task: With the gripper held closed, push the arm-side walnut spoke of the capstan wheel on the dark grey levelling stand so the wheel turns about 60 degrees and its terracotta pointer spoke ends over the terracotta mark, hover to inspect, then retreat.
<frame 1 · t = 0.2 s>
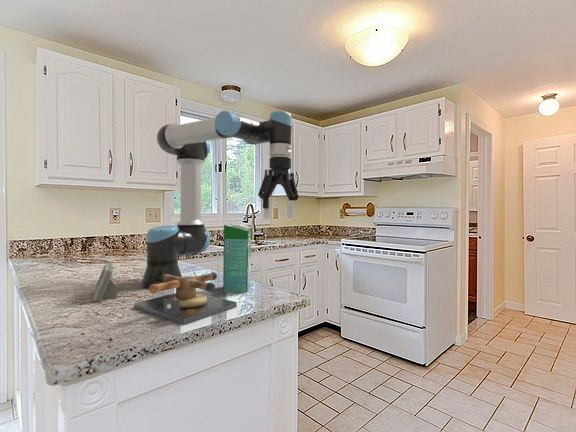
hand: (279, 218, 113), 28 cm above the countertop, fingers open, 13 cm apart
capstan: (186, 289, 101), point 6 cm above the countertop, hinge at 0.0°
milk carton: (237, 289, 125), on the countertop
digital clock: (103, 297, 112), on the countertop
stand: (185, 307, 101), on the countertop
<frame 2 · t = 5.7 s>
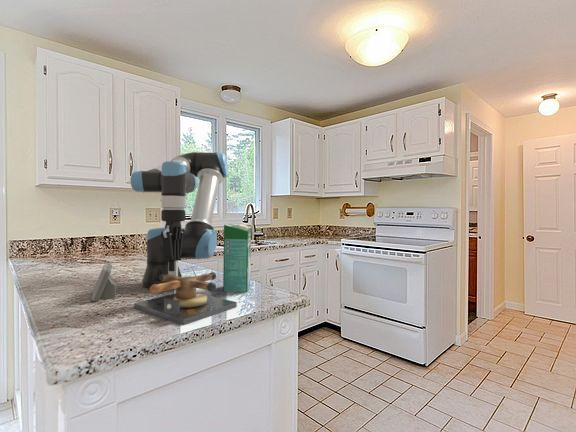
hand: (173, 280, 107), 7 cm above the countertop, fingers closed
capstan: (186, 289, 101), point 6 cm above the countertop, hinge at 2.2°, touching gripper
everything else where it was.
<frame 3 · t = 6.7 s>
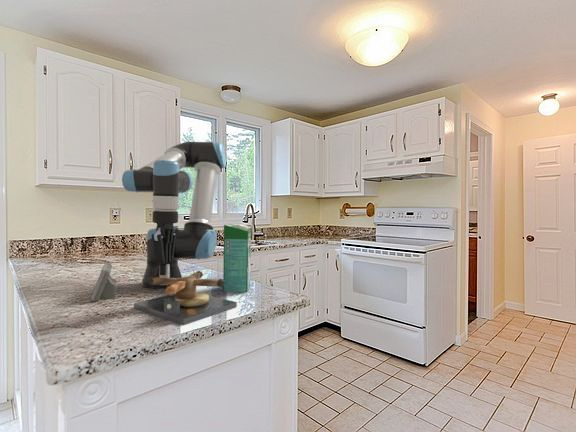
hand: (164, 284, 103), 7 cm above the countertop, fingers closed
capstan: (186, 289, 101), point 6 cm above the countertop, hinge at 30.4°, touching gripper
everything else where it was.
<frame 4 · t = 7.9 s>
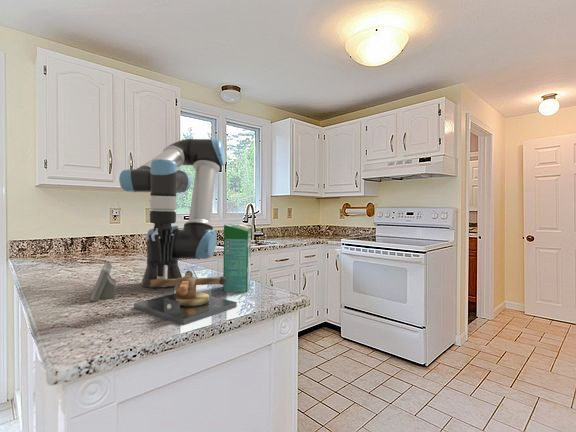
hand: (162, 285, 101), 7 cm above the countertop, fingers closed
capstan: (186, 289, 101), point 6 cm above the countertop, hinge at 47.8°, touching gripper
everything else where it was.
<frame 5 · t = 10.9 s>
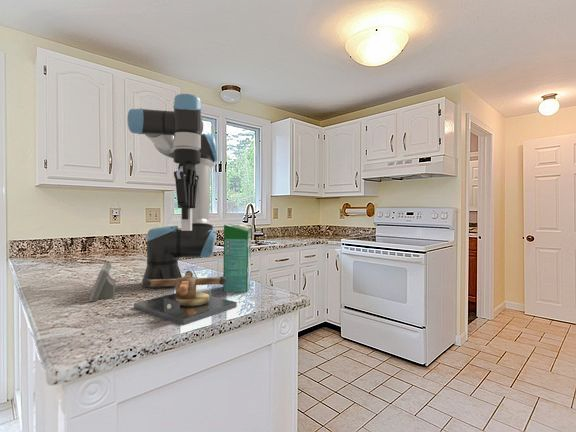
hand: (186, 230, 95), 24 cm above the countertop, fingers closed
capstan: (186, 289, 101), point 6 cm above the countertop, hinge at 47.9°
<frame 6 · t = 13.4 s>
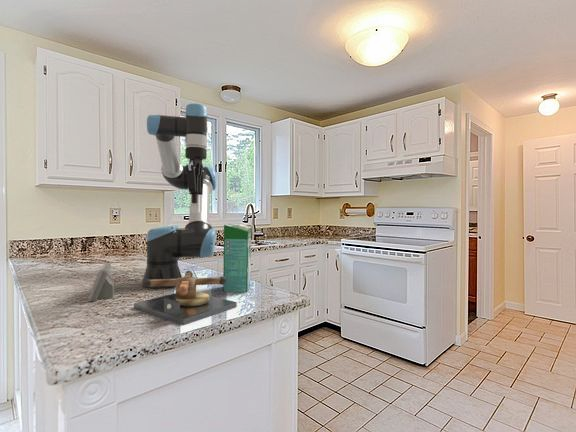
hand: (195, 212, 119), 29 cm above the countertop, fingers closed
at the end: capstan at +48° (first picture: +0°) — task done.
